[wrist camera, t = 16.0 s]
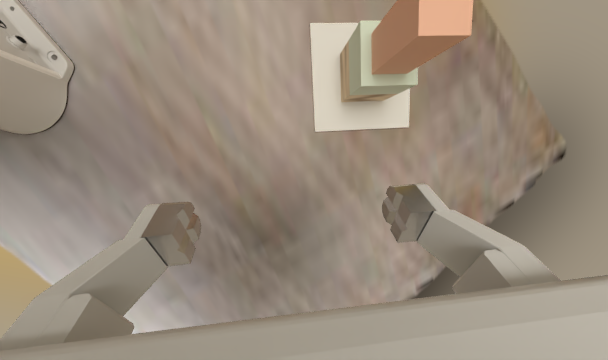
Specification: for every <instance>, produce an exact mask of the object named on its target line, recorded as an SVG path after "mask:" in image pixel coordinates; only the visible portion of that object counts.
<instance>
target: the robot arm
mask: <svg viewBox="0 0 608 360" xmlns="http://www.w3.org/2000/svg"><path fill="white" fill-rule="evenodd" d="M56 58H57V60H56ZM73 70H74V65H73V63H72V61H71V60H70V59H69V58H68V57H67V55H66V54H65V53H64V52H63V51H62V50H61V49H60V48H59V46H58V45H57V44H56V43H55V42H54V41H53V40H52V38H51V37H50V36H49V35H48V34H47V33H46V32H45V30H44V29H43V28H42V27H41V26H40V25H39V24H38V22H37V21H36V20H35V19H34V18H33V17H32V16H31V15H30V13H29V12H28V11H27V10H26V9H25V8H24V7H23V5H22V4H21V3H20V2H19V1H18V0H0V129H1V130H4V131H8V132H11V133H17V134H32V133H37V132H41V131H43V130H45V129H47V128H49V127H51V126H52V125H53V124H54V123H55V122H56V121H57V120H58V119H59V118H60V116H61V115H62V113H63V111H64V109H65V106H66V101H67V84H68V81H69V79H70V77H71V75H72V73H73ZM386 194H387V196H388V197H387V198H386V199H385V200H384V201H383V205H382V213H383V216H384V218H385V220H386V222H388V223H389V224H391V225H392V226H391V229H390V230H391V232H392V234H393V235H394V237H395V239H396V241H397V243H399V242H413V241H417V243H418V244H420V245H421V246H422V247H423V248H425V249H426V250H427V251H428V252H429V253H431V254H432V255H433V256H434V257H436V258H437V259H438V260H439V261H441V262H442V263H443V264H444V265H446V266H447V267H448V268H449V269H451V270H452V271H453V272H454V273H455V274H457V275H458V276H459V277H460V278H459V279H458V280H457V281H456V282H455V283H454V285H453V287H452V288H453V290H454V291H455V293H456V294H451V295H443V296H435V297H427V298H419V299H410V300H402V301H394V302H386V303H378V304H370V305H362V306H354V307H346V308H338V309H330V310H322V311H314V312H306V313H298V314H290V315H282V316H274V317H266V318H258V319H250V320H242V321H234V322H226V323H218V324H210V325H202V326H194V327H186V328H178V329H170V330H162V331H154V332H146V333H138V334H132V331H133V329H134V325H133V323H131V322H130V321H129V320H127V319H126V318H124V317H123V316H124V315H125V314H126V313H127V311H128V310H129V309H130V308H131V307H132V306H133V305H134V304H135V303H136V302H137V301H138V299H139V298H140V297H141V296H142V295H143V294H144V293H145V292H146V291H147V290H148V289H149V287H150V286H151V285H152V284H153V283H154V282H155V281H156V280H157V279H158V278H159V277H160V275H161V274H162V273H163V272H164V271H165V270H166V269H167V268H168V267H167V266H175V265H183V264H191V261H192V258H193V255H194V252H195V249H196V248H195V246H194V243H195V242H196V241H197V240H198V239H199V236H200V233H201V223H200V219H199V217H198V216H197V215H195V214H194V213H193V211H194V209H195V208H194V207H193V205H192V203H191V202H177V203H162V204H149V205H147V206H145V207H144V209H143V210H142V212H141V213H140V215H139V217H138V218H137V220H136V221H135V223H134V224H133V226H132V227H131V229H130V230H129V232H128V233H127V235H126V236H125V238H124V239H122V240H118V241H116V242H115V243H114V244H112V245H111V246H109V247H108V248H106V249H105V250H103V251H102V252H100V253H99V254H98V255H96V256H95V257H93V258H92V259H90V260H89V261H87V262H86V263H84V264H83V265H82V266H80V267H79V268H77V269H76V270H74V271H73V272H71V273H70V274H69V275H67V276H66V277H64V278H63V279H61V280H60V281H58V282H57V283H55V284H54V285H53V286H51V287H50V288H48V289H47V290H45V291H44V292H42V293H41V294H39V295H38V296H37V297H35V298H34V299H33V300H32V302H31V303H30V304H29V306H27V308H26V309H25V310H24V311H23V312H22V314H21V315H20V316H19V317H18V319H17V320H16V321H15V322H14V323H13V325H12V326H11V327H10V328H9V329H8V331H7V332H6V333H5V334H4V335H3V337H2V338H1V339H0V360H608V275H604V276H595V277H587V278H579V279H572V280H563V281H561V280H560V279H558V277H556V276H555V275H554V274H553V273H552V272H551V271H550V270H549V269H548V268H547V267H546V266H545V265H544V264H543V263H542V262H541V261H540V260H538V258H537V257H535V256H534V255H533V254H532V253H531V252H530V251H529V250H528V249H527V248H526V247H525V246H524V245H522V244H520V243H518V242H516V241H514V240H512V239H510V238H508V237H506V236H504V235H502V234H500V233H498V232H496V231H494V230H492V229H490V228H488V227H486V226H484V225H482V224H480V223H478V222H476V221H475V220H473V219H471V218H469V217H467V216H465V215H463V214H461V213H459V212H457V211H455V210H449V209H448V207H447V206H446V205H445V204H444V203H443V202H442V201H441V199H440V198H439V197H438V196H437V195H436V194H435V193H434V191H433V190H432V189H431V188H430V187H429V186H428V185H427V184H425V183H419V184H409V185H397V186H389V188H388V189H387V192H386Z"/></svg>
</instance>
